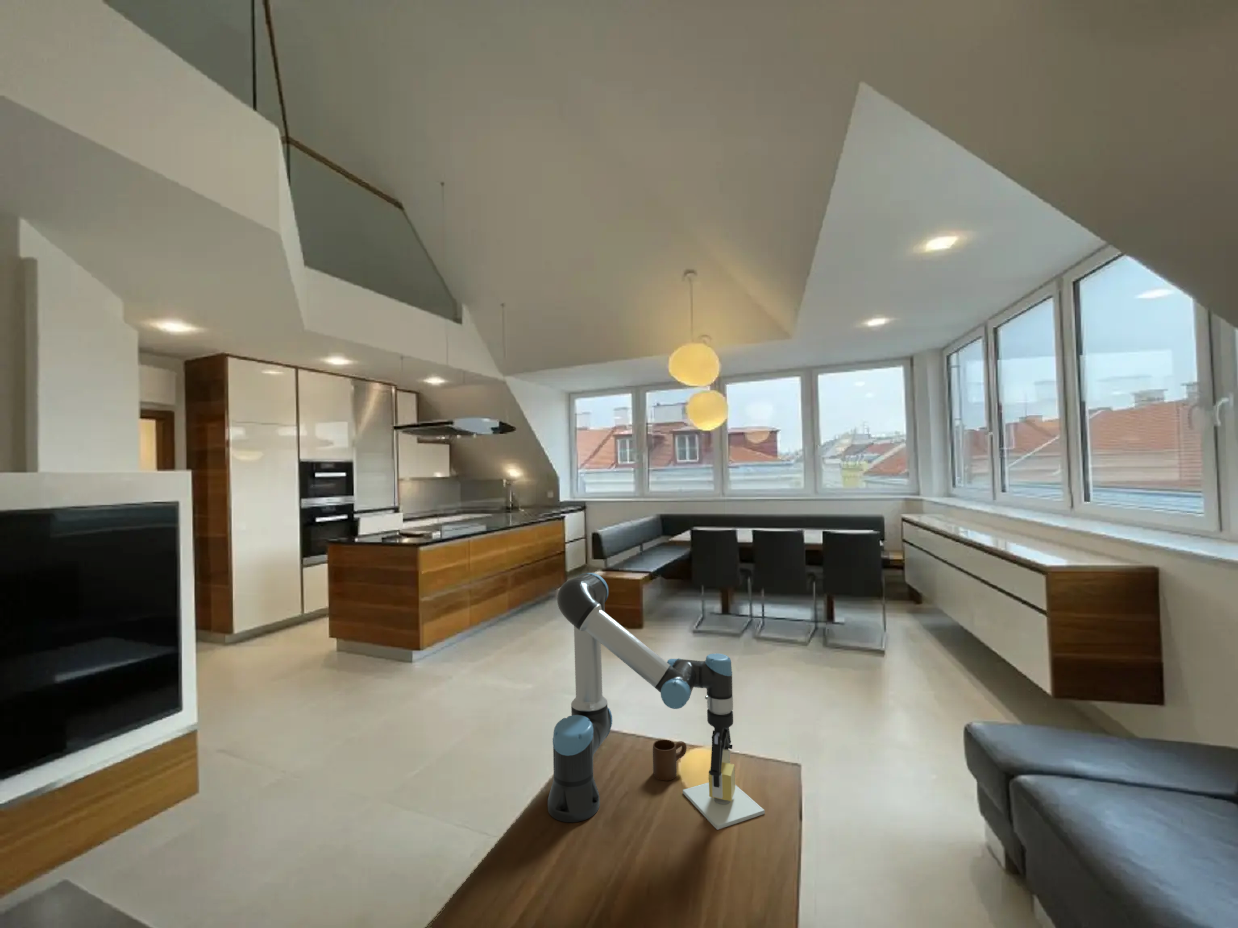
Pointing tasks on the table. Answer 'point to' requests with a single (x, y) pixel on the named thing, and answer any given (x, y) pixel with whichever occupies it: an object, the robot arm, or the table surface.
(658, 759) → the mug
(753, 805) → the white square plate
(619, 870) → the table surface
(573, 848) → the table surface
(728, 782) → the pale yellow cube
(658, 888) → the table surface
